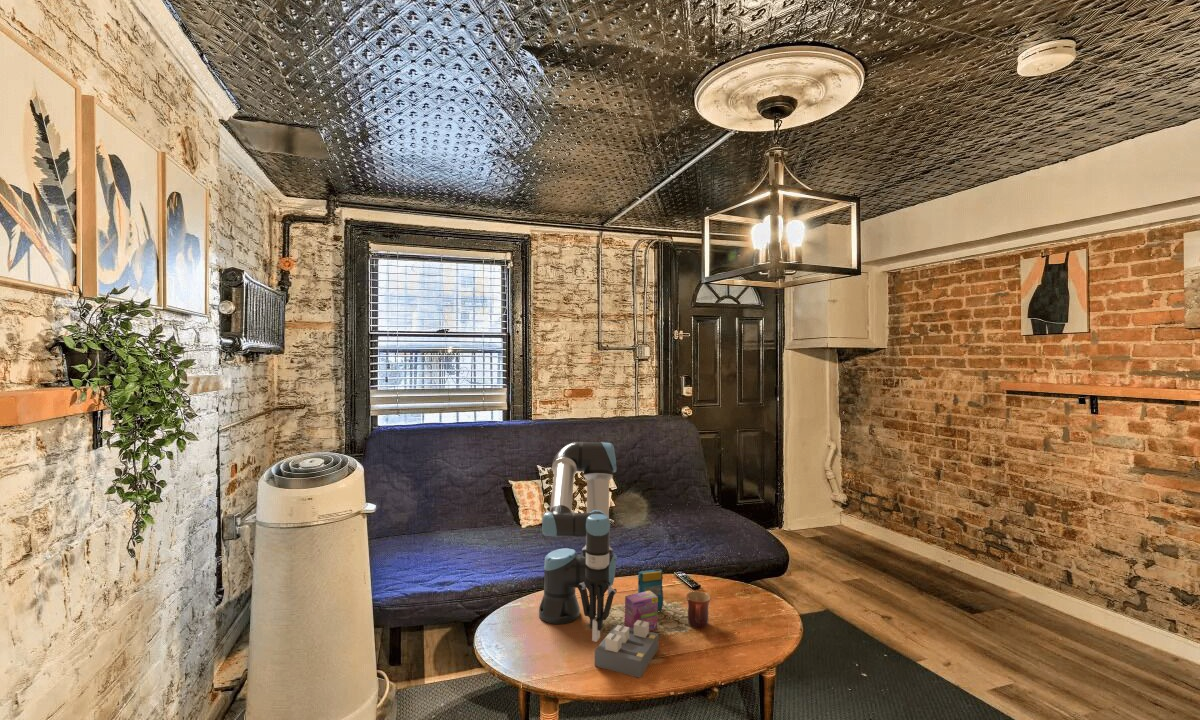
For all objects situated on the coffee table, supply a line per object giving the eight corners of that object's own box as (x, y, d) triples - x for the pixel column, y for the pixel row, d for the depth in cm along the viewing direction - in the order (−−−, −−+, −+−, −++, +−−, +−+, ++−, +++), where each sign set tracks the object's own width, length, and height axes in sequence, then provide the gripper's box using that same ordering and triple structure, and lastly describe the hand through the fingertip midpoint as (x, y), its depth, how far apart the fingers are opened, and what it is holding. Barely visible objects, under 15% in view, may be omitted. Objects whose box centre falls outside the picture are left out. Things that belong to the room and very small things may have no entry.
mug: (686, 617, 203) (686, 590, 203) (710, 620, 202) (710, 592, 201) (684, 633, 192) (685, 604, 191) (710, 636, 190) (710, 607, 190)
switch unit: (594, 665, 171) (594, 649, 171) (616, 638, 188) (616, 623, 187) (640, 677, 165) (640, 660, 165) (658, 648, 182) (658, 633, 181)
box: (632, 636, 190) (633, 602, 189) (624, 628, 195) (624, 595, 194) (657, 629, 194) (658, 596, 194) (649, 622, 199) (649, 589, 199)
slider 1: (605, 649, 171) (605, 637, 171) (609, 644, 174) (609, 632, 174) (617, 652, 169) (617, 640, 169) (621, 646, 173) (621, 634, 172)
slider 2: (613, 640, 176) (613, 628, 176) (617, 635, 180) (617, 623, 179) (625, 643, 175) (625, 631, 175) (629, 638, 178) (629, 626, 178)
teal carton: (660, 607, 211) (660, 568, 211) (664, 612, 207) (665, 572, 207) (636, 610, 208) (637, 571, 208) (640, 615, 204) (641, 575, 204)
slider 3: (633, 635, 180) (633, 623, 180) (637, 630, 183) (637, 618, 183) (645, 637, 178) (645, 626, 178) (648, 632, 182) (648, 621, 182)
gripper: (573, 565, 173) (572, 640, 173) (611, 573, 168) (610, 649, 168) (583, 557, 180) (582, 629, 180) (620, 564, 174) (619, 638, 175)
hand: (596, 639), depth 174 cm, fingers closed
